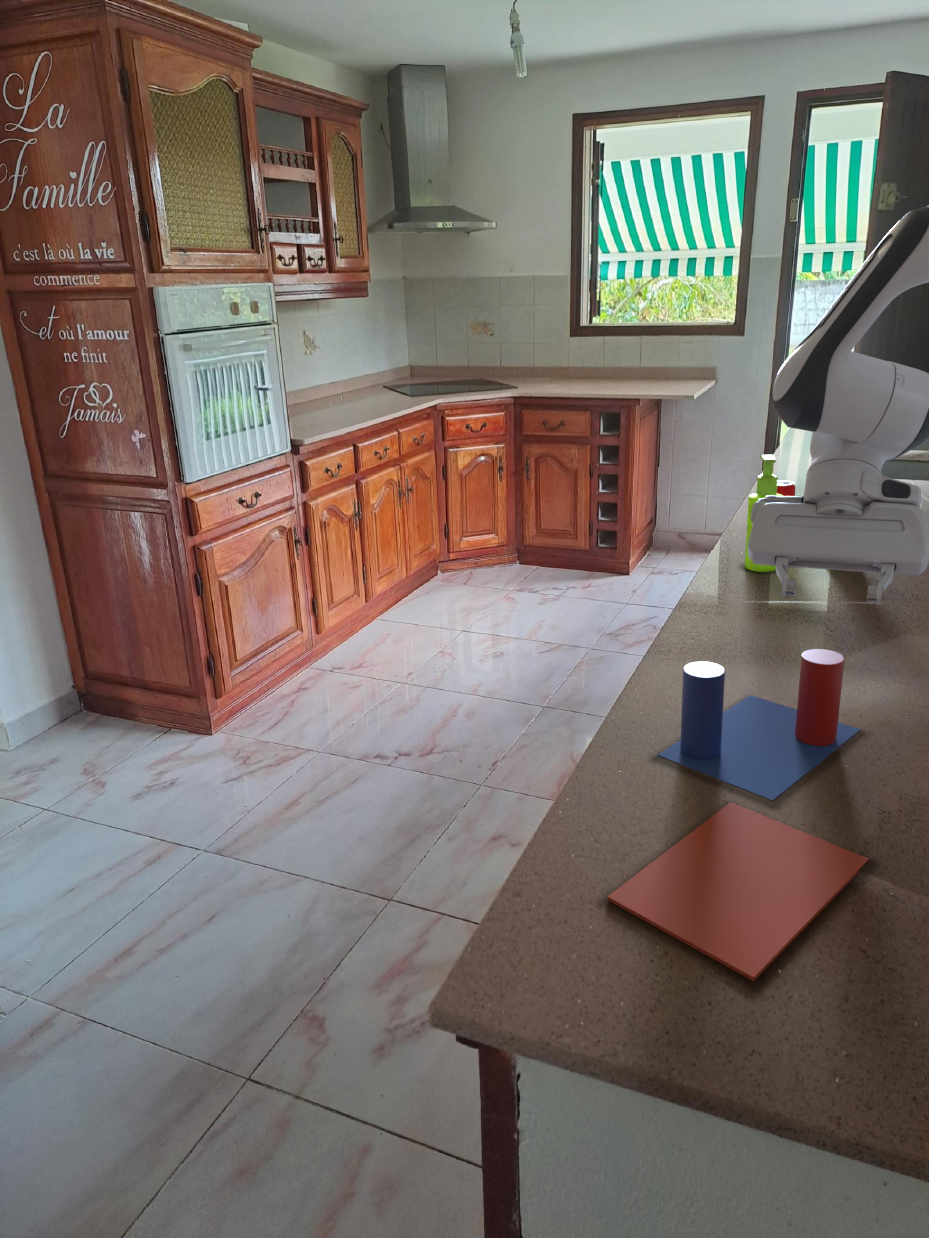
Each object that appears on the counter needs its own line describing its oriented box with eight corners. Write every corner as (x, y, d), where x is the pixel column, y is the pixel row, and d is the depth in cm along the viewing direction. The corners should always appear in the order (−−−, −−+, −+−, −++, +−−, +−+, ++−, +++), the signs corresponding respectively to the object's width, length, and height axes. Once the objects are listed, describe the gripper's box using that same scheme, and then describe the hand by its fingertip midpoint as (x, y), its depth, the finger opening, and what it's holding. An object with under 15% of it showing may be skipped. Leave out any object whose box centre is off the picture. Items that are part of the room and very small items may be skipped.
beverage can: (788, 547, 169) (793, 486, 165) (760, 545, 172) (764, 484, 168) (793, 540, 174) (798, 480, 169) (766, 538, 176) (770, 479, 172)
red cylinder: (843, 735, 100) (851, 655, 97) (824, 750, 97) (833, 668, 94) (806, 724, 103) (813, 645, 100) (787, 737, 100) (794, 657, 97)
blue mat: (860, 732, 101) (860, 729, 101) (772, 803, 89) (773, 800, 89) (750, 697, 111) (750, 694, 111) (657, 757, 99) (657, 754, 99)
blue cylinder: (728, 749, 99) (732, 668, 95) (706, 764, 96) (710, 681, 93) (694, 736, 102) (697, 657, 98) (672, 751, 99) (675, 670, 96)
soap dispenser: (775, 560, 163) (783, 452, 156) (781, 571, 156) (789, 459, 149) (742, 560, 164) (748, 453, 157) (746, 571, 157) (753, 460, 150)
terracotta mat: (868, 862, 79) (869, 858, 79) (753, 981, 67) (753, 977, 67) (730, 805, 89) (730, 801, 89) (607, 900, 77) (607, 896, 77)
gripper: (752, 482, 110) (737, 579, 106) (935, 488, 102) (928, 594, 97) (754, 508, 116) (740, 602, 111) (929, 516, 108) (921, 618, 103)
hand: (830, 598), depth 104 cm, fingers open, 8 cm apart
